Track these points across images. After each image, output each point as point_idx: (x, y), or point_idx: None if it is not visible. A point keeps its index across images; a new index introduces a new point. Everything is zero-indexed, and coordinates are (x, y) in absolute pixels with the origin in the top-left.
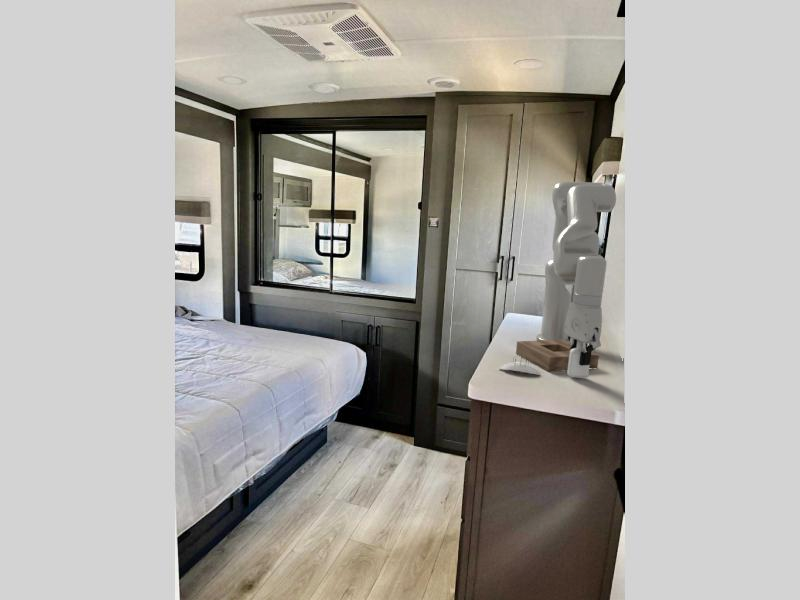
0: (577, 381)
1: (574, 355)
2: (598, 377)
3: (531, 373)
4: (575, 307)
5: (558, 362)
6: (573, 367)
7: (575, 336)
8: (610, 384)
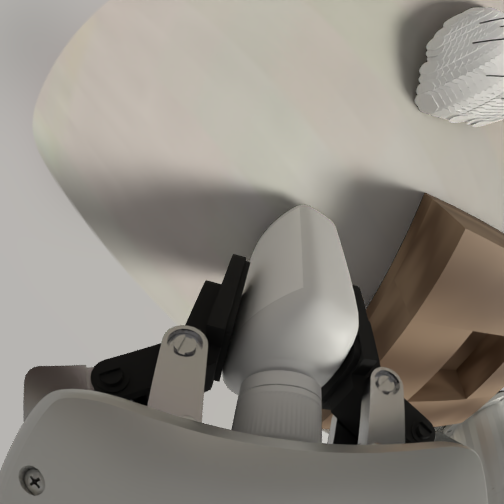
0: (255, 204)
1: (290, 285)
2: None
3: (428, 43)
4: None
5: (419, 269)
6: (288, 233)
7: (283, 479)
8: (176, 298)
